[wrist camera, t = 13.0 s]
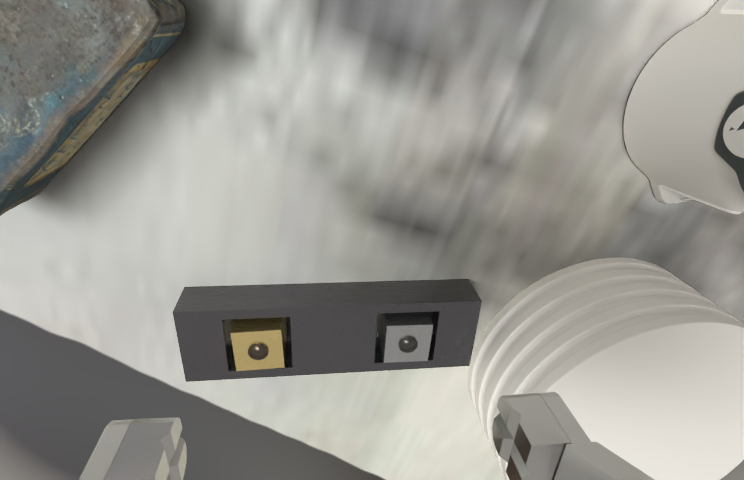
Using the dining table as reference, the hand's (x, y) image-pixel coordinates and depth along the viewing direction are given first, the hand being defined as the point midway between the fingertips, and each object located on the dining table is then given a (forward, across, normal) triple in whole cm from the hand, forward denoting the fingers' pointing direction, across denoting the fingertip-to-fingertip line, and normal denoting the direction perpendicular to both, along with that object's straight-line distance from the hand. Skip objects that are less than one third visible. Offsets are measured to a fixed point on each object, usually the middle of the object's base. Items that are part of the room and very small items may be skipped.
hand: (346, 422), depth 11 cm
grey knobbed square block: (+29, -8, +18) cm, 35 cm away
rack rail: (+29, -1, +18) cm, 34 cm away
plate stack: (+30, -31, +26) cm, 50 cm away
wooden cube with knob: (+29, +6, +18) cm, 35 cm away
